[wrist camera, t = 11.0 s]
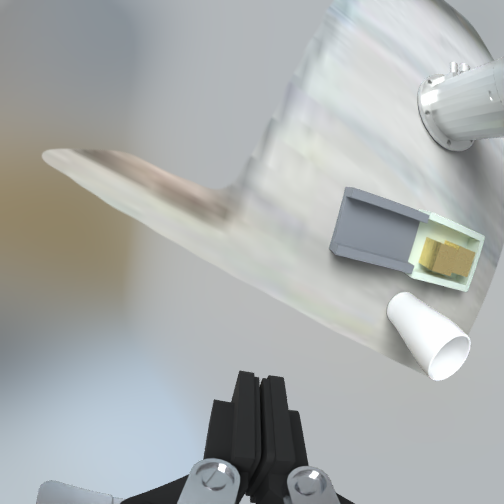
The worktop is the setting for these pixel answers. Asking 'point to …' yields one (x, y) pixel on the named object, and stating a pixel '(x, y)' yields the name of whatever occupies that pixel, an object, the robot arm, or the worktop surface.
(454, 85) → the robot arm
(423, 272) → the tray
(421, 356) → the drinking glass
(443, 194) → the worktop surface
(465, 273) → the tan cube
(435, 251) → the gold cube
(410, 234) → the slot board
